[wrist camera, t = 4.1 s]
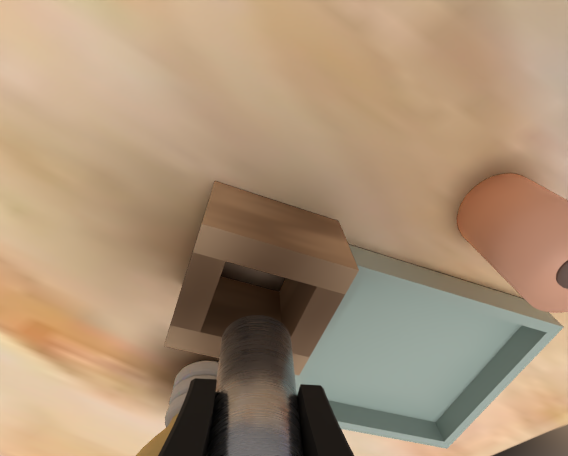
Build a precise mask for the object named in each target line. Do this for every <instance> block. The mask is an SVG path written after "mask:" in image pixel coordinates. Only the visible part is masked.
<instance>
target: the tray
mask: <svg viewBox="0 0 568 456" xmlns="http://www.w3.org/2000/svg"><path fill="white" fill-rule="evenodd" d="M349 247H350V250H351V252H352V255H353V257H354V259H355V262H356V264H357V267H358V269H359V271H358V273H357V275H356V277H355V278H354V280H353V282H352V284H351V285H350V287H349V289H348V291H347V292H346V294H345V296H344V298H343V299H342V301H341V303H340V305H339V306H338V308H337V310H336V312H335V313H334V315H333V317H332V319H331V321H330V322H329V324H328V326H327V328H326V329H325V331H324V333H323V335H322V336H321V338H320V340H319V342H318V343H317V345H316V347H315V349H314V350H313V352H312V354H311V356H310V357H309V359H308V361H307V363H306V364H305V366H304V368H303V370H302V371H301V373H300V375H299V376H298V375H295V382H296V391H297V395H298V391H299V387H300V384H306V385H321V386H322V387H323V388H324V391H325V393H326V396H327V398H328V401H329V403H330V406H331V408H332V410H333V413H334V415H335V417H336V419H337V421H338V424H339V426H340V428H341V429H345V430H351V431H356V432H361V433H367V434H372V435H377V436H383V437H388V438H393V439H399V440H404V441H409V442H415V443H420V444H425V445H431V446H436V447H441V448H448V447H449V446H450V445H451V444H452V443H453V442H454V441H455V440H456V439H457V438H458V437H459V436H460V435H461V434H462V432H463V431H464V430H465V429H466V428H467V427H468V426H469V425H470V424H471V423H472V422H473V421H474V420H475V419H476V418H477V417H478V416H479V415H480V414H481V413H482V412H483V411H484V410H485V409H486V407H487V406H488V405H489V404H490V403H491V402H492V401H493V400H494V399H495V398H496V397H497V396H498V395H499V394H500V393H501V392H502V391H503V390H504V389H505V388H506V387H507V386H508V385H509V384H510V382H511V381H512V380H513V379H514V378H515V377H516V376H517V375H518V374H519V373H520V372H521V371H522V370H523V369H524V368H525V367H526V366H527V365H528V364H529V363H530V362H531V361H532V360H533V359H534V357H535V356H536V355H537V354H538V353H539V352H540V351H541V350H542V349H543V348H544V347H545V346H546V345H547V344H548V343H549V342H550V341H551V340H552V339H553V338H554V337H555V336H556V335H557V334H558V332H559V331H560V330H561V329H562V328H563V326H562V325H561V324H560V323H559V322H558V321H557V320H556V319H555V318H554V317H553V316H552V315H551V314H550V313H549V312H545V311H541V310H538V309H536V308H534V307H533V306H531V305H530V304H529V303H528V302H527V301H526V300H525V299H522V298H519V297H516V296H513V295H510V294H506V293H503V292H500V291H497V290H493V289H490V288H487V287H484V286H481V285H477V284H474V283H471V282H468V281H464V280H461V279H458V278H455V277H452V276H448V275H445V274H442V273H439V272H436V271H432V270H429V269H426V268H423V267H419V266H416V265H413V264H410V263H407V262H403V261H400V260H397V259H394V258H391V257H387V256H384V255H381V254H378V253H374V252H371V251H368V250H365V249H362V248H358V247H355V246H352V245H349Z"/></svg>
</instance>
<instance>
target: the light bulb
mask: <svg viewBox="0 0 568 456" xmlns="http://www.w3.org/2000/svg"><path fill="white" fill-rule="evenodd" d="M218 364H219V362H215V361H207V360H205V361H200V362H195V363H192V364H189V365H187V366H185V367H184V368H182V369H181V371H180V372H179V373H178V374H177V375H176V378H175V381H174V385H173V391H172V393H171V397H170V401H169V407H168V410H167V413H166V417H165V425H166V428H165V429H164V430H163V431H162V432H160V433H159V434H158V435H157V436H155V437H154V438H153V439H152V440H151V441H150V442H149V443H148V444H147V445H145V446H144V447H143V448H142V449H141V451H140V452H139V453H138V454H137V455H136V456H158V455H159V453H160V451H161V449H162V447H163V445H164V443H165V441H166V439H167V437H168V435H169V433H170V431H171V429H172V427H173V425H174V423H175V421H176V418H177V416H178V414H179V412H180V409H181V407H182V405H183V402H184V400H185V397H186V394H187V392H188V389H189V385H190V382H191V380H193V379H195V378H200V379H217V371H218Z"/></svg>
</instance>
